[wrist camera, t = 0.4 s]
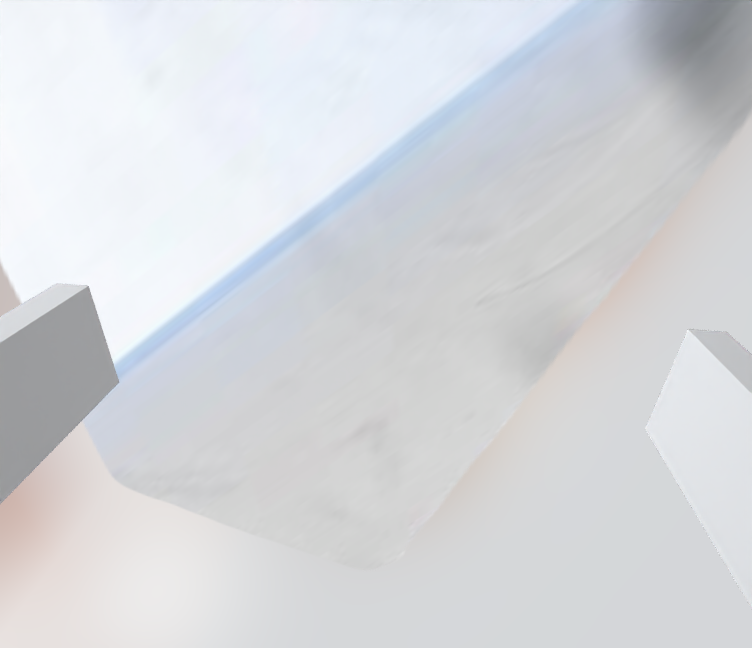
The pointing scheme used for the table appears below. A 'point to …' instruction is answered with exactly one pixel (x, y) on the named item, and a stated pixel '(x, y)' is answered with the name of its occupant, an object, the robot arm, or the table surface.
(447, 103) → the table surface
